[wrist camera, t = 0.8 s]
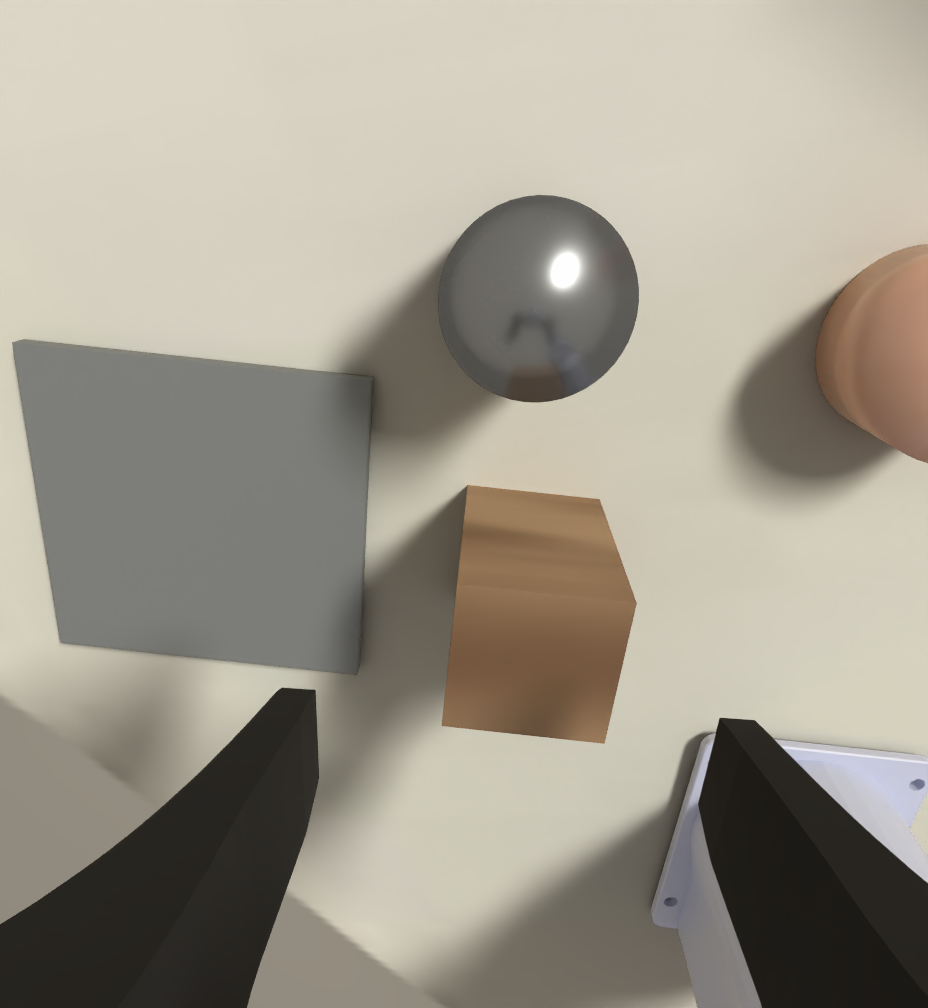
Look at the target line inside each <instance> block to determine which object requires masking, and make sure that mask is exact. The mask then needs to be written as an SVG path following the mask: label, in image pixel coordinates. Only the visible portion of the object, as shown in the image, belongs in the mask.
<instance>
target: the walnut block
mask: <svg viewBox="0 0 928 1008" xmlns="http://www.w3.org/2000/svg"><path fill="white" fill-rule="evenodd" d="M636 604H637V603H636V600H635V598H634V595H633V592H632V589H631V586H630V584H629V581H628V578H627V575H626V572H625V570H624V567H623V564H622V561H621V558H620V556H619V553H618V550H617V547H616V544H615V542H614V539H613V536H612V533H611V530H610V528H609V525H608V522H607V519H606V516H605V514H604V511H603V508H602V505H601V502H600V500H599V499H591V498H582V497H572V496H563V495H554V494H544V493H535V492H526V491H517V490H507V489H498V488H489V487H479V486H470V485H468V487H467V496H466V505H465V515H464V524H463V533H462V542H461V552H460V561H459V570H458V579H457V589H456V598H455V607H454V616H453V626H452V635H451V644H450V653H449V663H448V672H447V681H446V691H445V700H444V709H443V718H442V726H448V727H457V728H466V729H475V730H484V731H494V732H503V733H512V734H521V735H530V736H540V737H549V738H558V739H567V740H576V741H586V742H595V743H605V739H606V734H607V730H608V725H609V721H610V717H611V712H612V708H613V704H614V699H615V695H616V691H617V686H618V682H619V678H620V673H621V669H622V665H623V660H624V656H625V651H626V647H627V643H628V638H629V634H630V630H631V625H632V621H633V617H634V612H635V608H636Z"/></svg>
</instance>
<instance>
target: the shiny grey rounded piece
mask: <svg viewBox="0 0 928 1008" xmlns="http://www.w3.org/2000/svg"><path fill="white" fill-rule="evenodd" d="M638 303H639V287H638V279H637V273H636V269H635V265H634V262H633V259H632V257H631V254H630V252H629V250H628V248H627V246H626V244H625V243H624V241H623V239H622V237H621V236H620V235H619V233H618V232H617V231H616V230H615V228H614V227H613V226H612V225H611V224H610V223H609V222H608V221H607V220H606V219H605V218H604V217H602V216H601V215H600V214H598V213H597V212H595V211H594V210H592V209H591V208H589V207H587V206H585V205H583V204H581V203H579V202H576V201H573V200H570V199H567V198H562V197H557V196H547V195H536V196H527V197H522V198H518V199H514V200H510V201H508V202H505V203H503V204H501V205H498V206H496V207H495V208H493V209H491V210H489V211H488V212H486V213H485V214H483V215H482V216H481V217H479V218H478V219H477V220H476V221H474V222H473V223H472V224H471V225H470V226H469V227H468V228H467V229H466V230H465V232H464V233H463V234H462V236H461V237H460V238H459V239H458V241H457V242H456V244H455V245H454V247H453V249H452V251H451V252H450V254H449V256H448V259H447V261H446V264H445V266H444V269H443V273H442V276H441V280H440V286H439V293H438V311H439V320H440V325H441V329H442V333H443V336H444V338H445V341H446V344H447V346H448V348H449V350H450V352H451V354H452V355H453V357H454V359H455V360H456V361H457V363H458V364H459V366H460V367H461V368H462V369H463V370H464V371H465V372H466V374H467V375H468V376H469V377H470V378H472V379H473V380H474V381H475V382H477V383H478V384H479V385H481V386H482V387H484V388H485V389H487V390H489V391H490V392H493V393H495V394H497V395H499V396H502V397H505V398H508V399H511V400H517V401H522V402H547V401H553V400H558V399H562V398H565V397H568V396H571V395H573V394H575V393H577V392H579V391H582V390H584V389H585V388H587V387H588V386H590V385H591V384H593V383H594V382H596V381H597V380H598V379H599V378H601V377H602V376H603V375H604V374H605V373H606V372H607V371H608V370H609V369H610V368H611V367H612V366H613V365H614V364H615V362H616V361H617V359H618V358H619V357H620V355H621V354H622V352H623V350H624V349H625V347H626V345H627V343H628V341H629V339H630V336H631V334H632V331H633V329H634V325H635V321H636V317H637V311H638Z"/></svg>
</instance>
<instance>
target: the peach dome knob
mask: <svg viewBox="0 0 928 1008" xmlns="http://www.w3.org/2000/svg"><path fill="white" fill-rule="evenodd" d="M815 362H816V373H817V378H818V382H819V385H820V387H821V390H822V392H823V394H824V396H825V398H826V399H827V401H828V402H829V403H830V405H831V406H832V407H833V408H834V409H835V410H836V411H837V412H838V413H839V414H840V415H841V416H843V417H844V418H845V419H847V420H848V421H850V422H852V423H853V424H855V425H857V426H858V427H860V428H862V429H864V430H865V431H867V432H869V433H870V434H872V435H874V436H876V437H877V438H879V439H881V440H882V441H884V442H886V443H887V444H889V445H891V446H893V447H894V448H896V449H898V450H899V451H901V452H903V453H905V454H906V455H909V456H911V457H913V458H915V459H917V460H920V461H923V462H926V463H928V244H923V245H917V246H912V247H908V248H905V249H902V250H899V251H896V252H893V253H891V254H889V255H887V256H885V257H883V258H881V259H879V260H878V261H876V262H875V263H873V264H871V265H870V266H868V267H867V268H866V269H864V270H863V271H862V272H861V273H859V274H858V275H857V276H856V277H855V278H854V279H853V280H852V281H851V282H850V283H849V284H848V285H847V286H846V287H845V288H844V289H843V291H842V292H841V293H840V294H839V295H838V297H837V298H836V300H835V301H834V303H833V304H832V306H831V307H830V309H829V311H828V313H827V315H826V317H825V319H824V321H823V324H822V327H821V329H820V332H819V336H818V341H817V345H816V355H815Z"/></svg>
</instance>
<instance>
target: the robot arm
mask: <svg viewBox="0 0 928 1008" xmlns="http://www.w3.org/2000/svg"><path fill="white" fill-rule="evenodd" d="M915 779H916V780H915ZM318 780H319V763H318V739H317V715H316V691H315V690H307V689H292V688H281V689H280V690H278V691H277V692H276V693H275V694H274V695H273V696H272V697H271V698H270V700H269V701H268V702H267V703H266V704H265V705H264V706H263V707H262V708H261V709H260V711H259V712H258V713H257V714H256V715H255V716H254V717H253V718H252V719H251V720H250V721H249V723H248V724H247V725H246V726H245V727H244V728H243V729H242V730H241V731H240V732H239V733H238V734H237V735H236V736H235V737H234V738H233V740H232V741H231V742H230V743H229V744H228V745H227V746H226V747H225V748H224V749H223V750H222V751H221V752H220V753H219V754H218V755H217V756H216V757H215V758H214V759H213V760H212V761H211V762H210V763H209V764H208V765H207V766H206V767H205V768H204V769H203V770H202V771H201V772H200V773H198V774H197V775H196V776H195V777H194V778H193V779H192V780H191V781H190V782H189V783H188V784H187V785H186V786H184V787H183V788H182V789H181V790H180V791H179V792H178V793H177V794H176V795H175V796H173V797H172V798H171V799H170V800H169V801H168V802H167V803H166V804H165V805H164V806H162V807H161V808H160V809H159V810H158V811H157V812H156V813H154V814H153V815H152V816H151V817H150V818H149V819H147V820H146V821H145V822H144V823H143V824H142V825H140V826H139V827H138V828H137V829H135V830H134V831H133V832H132V833H130V834H129V835H128V836H127V837H125V838H124V839H123V840H122V841H120V842H119V843H118V844H116V845H115V846H114V847H113V848H112V849H110V850H109V851H108V852H106V853H105V854H104V855H102V856H101V857H100V858H98V859H97V860H96V861H94V862H93V863H91V864H90V865H89V866H87V867H86V868H84V869H83V870H82V871H80V872H79V873H77V874H76V875H75V876H73V877H72V878H70V879H69V880H68V881H66V882H65V883H63V884H62V885H60V886H59V887H57V888H56V889H54V890H53V891H52V892H50V893H48V894H47V895H46V896H44V897H43V898H41V899H40V900H38V901H37V902H35V903H34V904H32V905H31V906H29V907H27V908H26V909H25V910H23V911H21V912H19V913H18V914H16V915H15V916H13V917H11V918H10V919H8V920H7V921H5V922H3V923H2V924H0V1008H247V1005H248V1001H249V997H250V994H251V990H252V987H253V984H254V981H255V978H256V974H257V971H258V968H259V965H260V962H261V959H262V956H263V953H264V951H265V948H266V945H267V942H268V939H269V937H270V934H271V931H272V928H273V925H274V923H275V920H276V917H277V914H278V911H279V909H280V906H281V903H282V900H283V897H284V895H285V892H286V889H287V886H288V883H289V881H290V878H291V875H292V872H293V869H294V866H295V864H296V861H297V858H298V855H299V852H300V849H301V846H302V844H303V841H304V838H305V835H306V831H307V827H308V823H309V819H310V815H311V811H312V806H313V802H314V798H315V793H316V789H317V784H318ZM913 780H914V781H913ZM911 781H912V782H911ZM927 792H928V757H926V756H923V755H915V754H906V753H897V752H887V751H878V750H869V749H860V748H850V747H841V746H832V745H823V744H814V743H804V742H795V741H786V740H777V739H773V738H772V737H771V736H770V735H769V734H768V733H767V732H766V731H765V730H764V729H763V728H762V727H761V726H760V725H759V724H758V723H757V722H756V721H755V720H743V719H729V718H720V719H719V723H718V727H717V731H716V733H714V734H710V735H708V736H706V737H705V738H704V739H703V740H702V742H701V745H700V748H699V751H698V755H697V758H696V761H695V765H694V768H693V771H692V775H691V778H690V781H689V785H688V788H687V791H686V795H685V798H684V801H683V804H682V808H681V811H680V814H679V818H678V821H677V824H676V828H675V831H674V834H673V838H672V841H671V844H670V848H669V851H668V854H667V858H666V861H665V864H664V867H663V871H662V874H661V877H660V881H659V884H658V887H657V891H656V894H655V897H654V901H653V904H652V907H651V917H652V921H653V922H654V924H656V925H657V926H660V927H664V928H674V929H678V932H679V936H680V940H681V944H682V948H683V952H684V956H685V960H686V964H687V968H688V972H689V976H690V980H691V984H692V988H693V992H694V996H695V1000H696V1004H697V1008H928V855H927V854H926V853H925V851H924V850H923V848H922V847H921V845H920V844H919V842H918V841H917V839H916V838H915V836H914V835H913V833H912V832H911V830H910V827H911V825H912V823H913V821H914V818H915V816H916V814H917V812H918V810H919V808H920V806H921V804H922V802H923V800H924V798H925V796H926V794H927Z"/></svg>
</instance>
